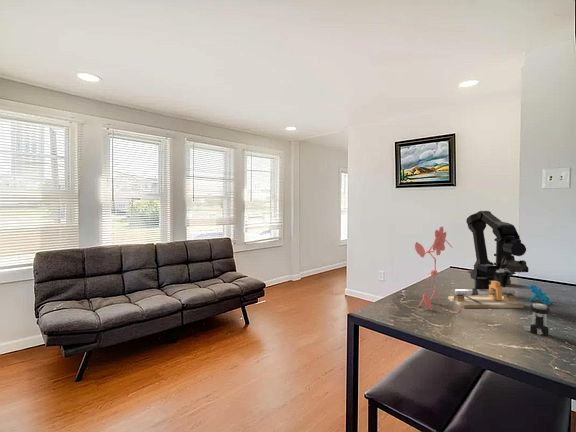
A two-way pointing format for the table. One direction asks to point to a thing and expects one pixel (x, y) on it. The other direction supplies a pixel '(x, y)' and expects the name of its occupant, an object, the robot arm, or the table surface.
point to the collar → (498, 290)
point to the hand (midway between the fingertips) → (502, 287)
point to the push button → (539, 319)
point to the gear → (539, 295)
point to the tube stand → (485, 299)
